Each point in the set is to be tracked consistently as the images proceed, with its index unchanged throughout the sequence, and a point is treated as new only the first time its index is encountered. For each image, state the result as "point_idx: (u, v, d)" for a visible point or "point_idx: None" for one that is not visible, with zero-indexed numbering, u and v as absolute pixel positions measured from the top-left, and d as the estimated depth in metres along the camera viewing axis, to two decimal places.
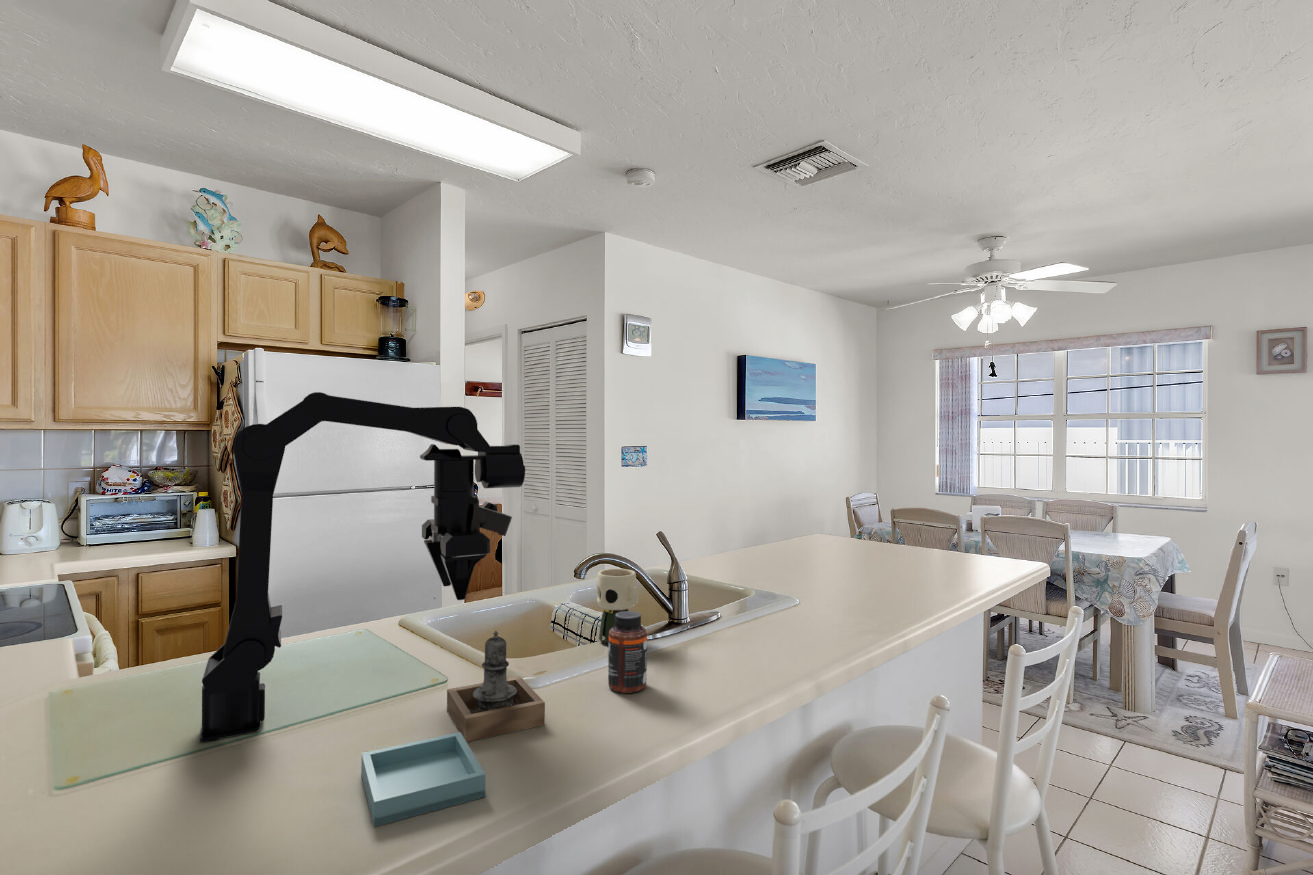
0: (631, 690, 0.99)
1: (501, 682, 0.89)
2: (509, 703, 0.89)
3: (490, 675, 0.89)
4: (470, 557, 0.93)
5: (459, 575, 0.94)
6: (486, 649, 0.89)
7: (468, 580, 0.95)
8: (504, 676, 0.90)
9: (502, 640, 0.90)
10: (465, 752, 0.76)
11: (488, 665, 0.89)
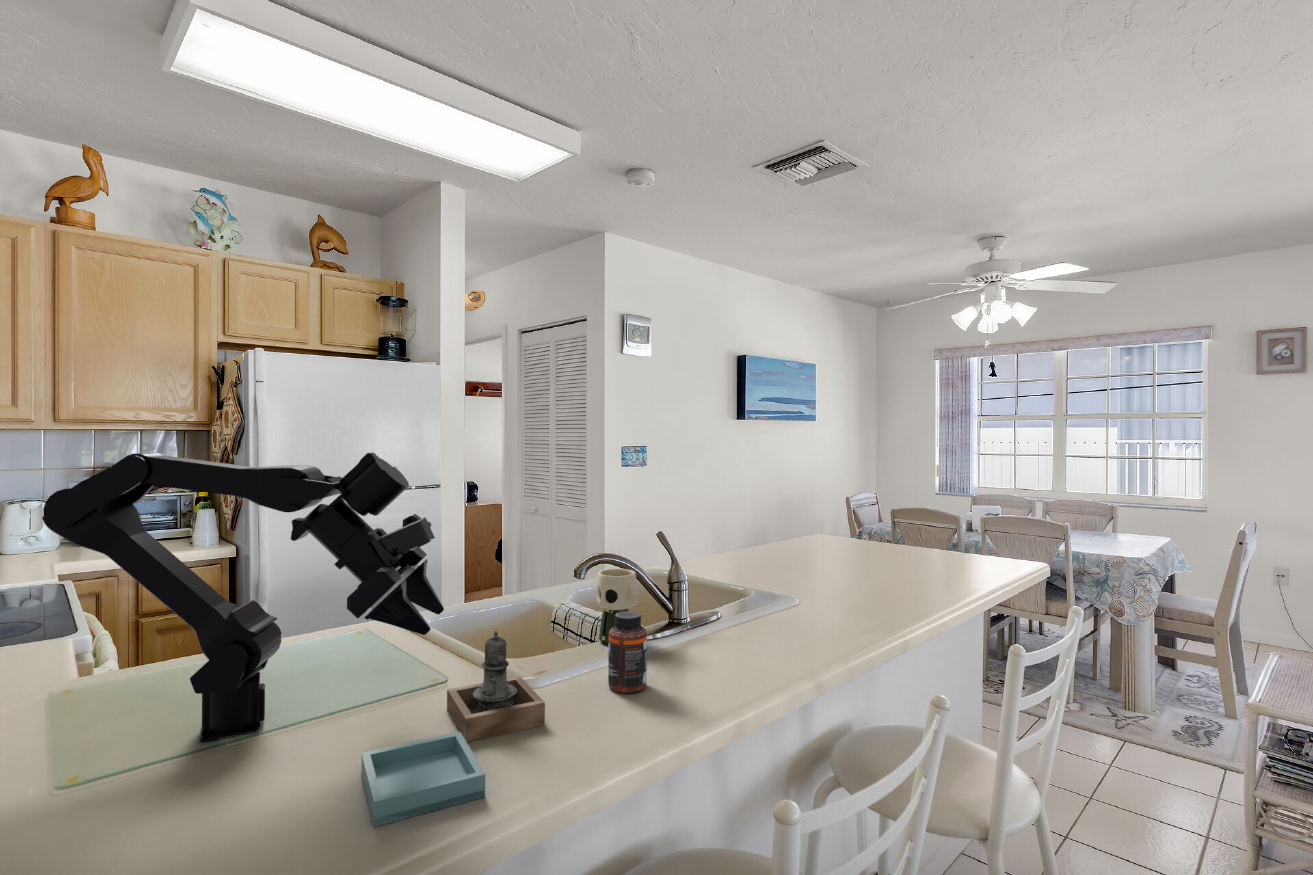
0: (631, 690, 0.99)
1: (501, 682, 0.89)
2: (509, 703, 0.89)
3: (490, 675, 0.89)
4: (385, 599, 0.81)
5: (400, 616, 0.83)
6: (486, 649, 0.89)
7: (414, 614, 0.83)
8: (504, 676, 0.90)
9: (502, 640, 0.90)
10: (465, 752, 0.76)
11: (488, 665, 0.89)
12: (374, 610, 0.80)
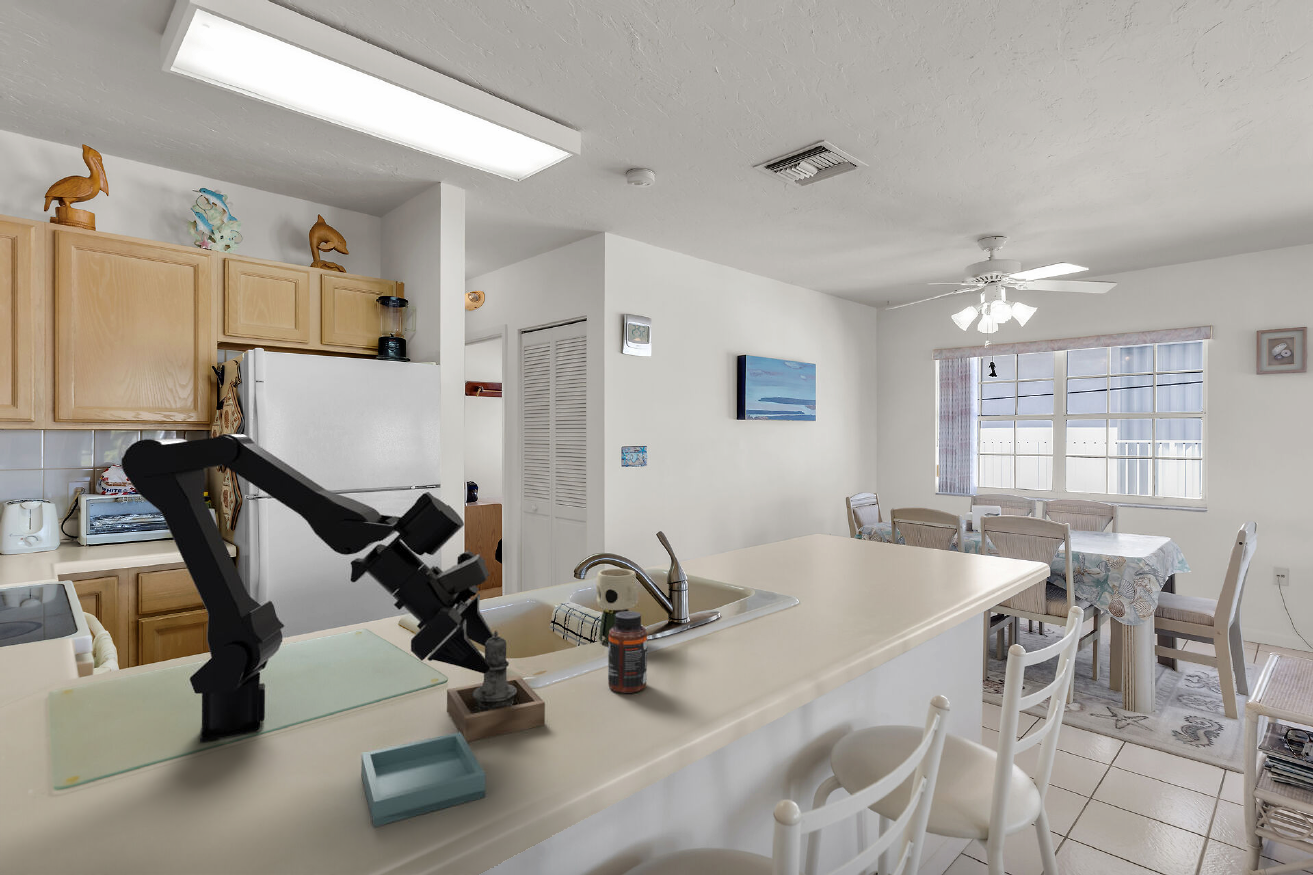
0: (631, 690, 0.99)
1: (501, 682, 0.89)
2: (509, 703, 0.89)
3: (490, 675, 0.89)
4: (448, 640, 0.82)
5: (461, 656, 0.84)
6: (486, 649, 0.89)
7: (474, 653, 0.84)
8: (504, 676, 0.90)
9: (502, 640, 0.90)
10: (465, 752, 0.76)
11: None
12: (437, 651, 0.81)
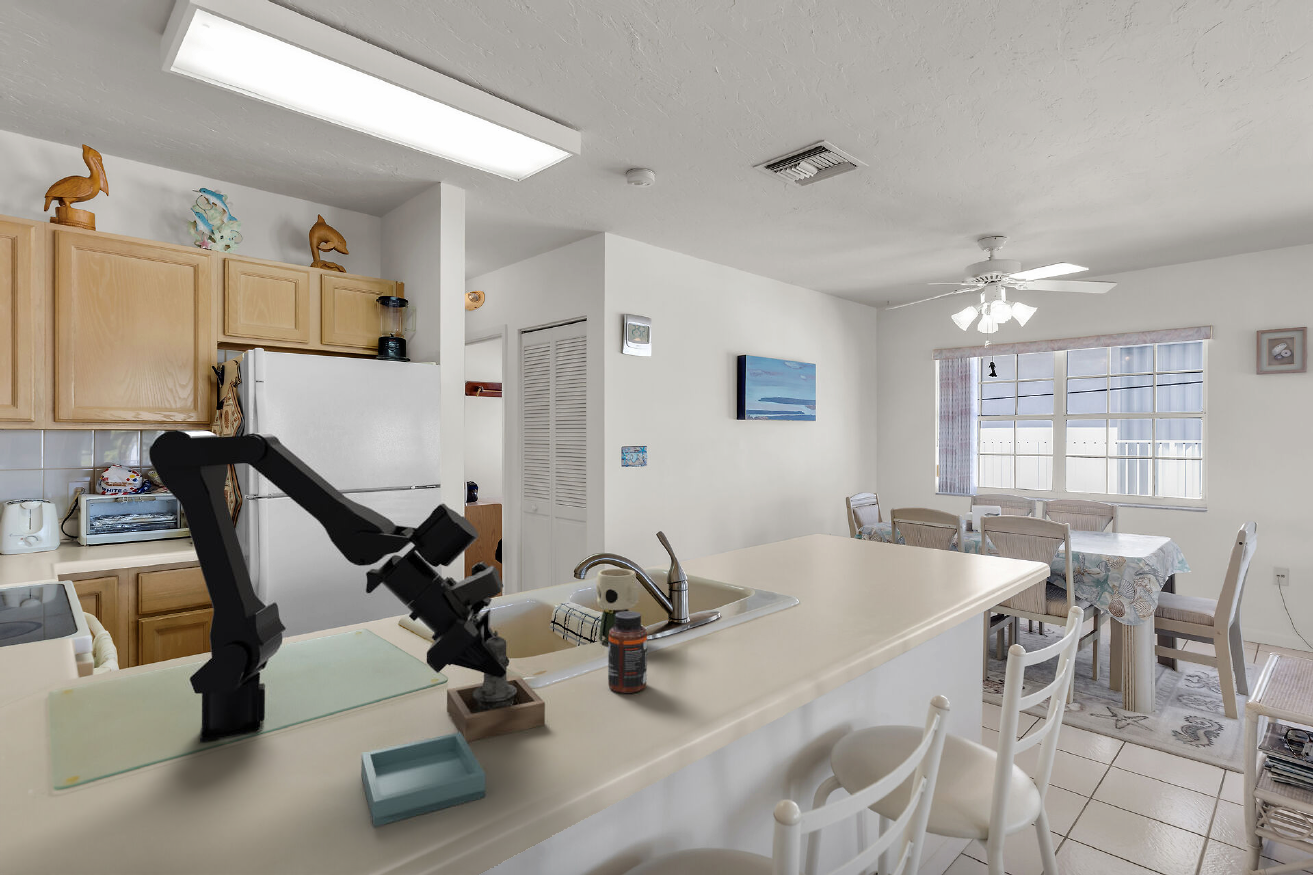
0: (631, 690, 0.99)
1: (501, 681, 0.89)
2: (509, 703, 0.89)
3: (490, 675, 0.89)
4: (466, 646, 0.84)
5: (479, 661, 0.87)
6: None
7: (492, 658, 0.87)
8: (504, 676, 0.90)
9: (502, 640, 0.90)
10: (465, 752, 0.76)
11: None
12: (456, 656, 0.84)
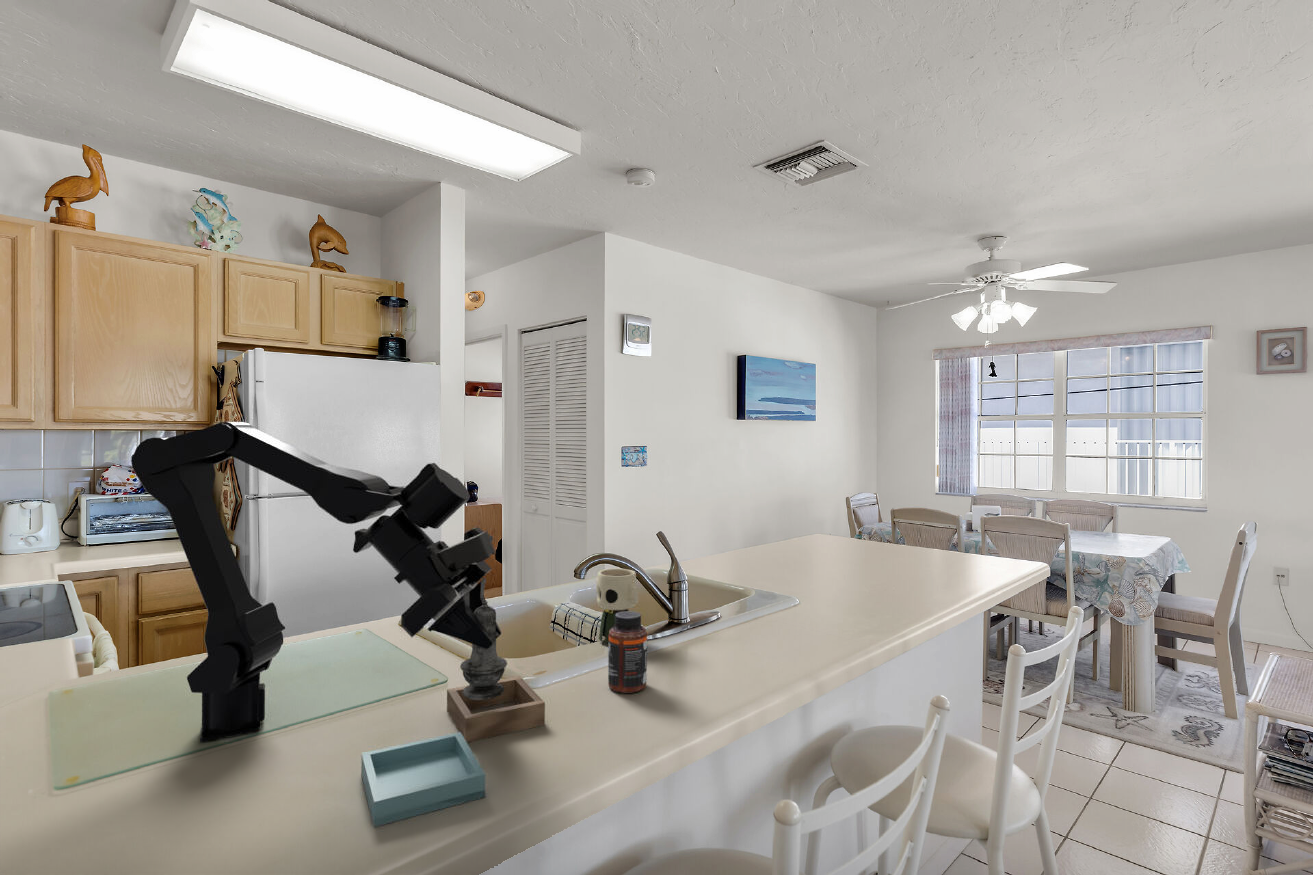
0: (631, 690, 0.99)
1: (488, 653, 0.84)
2: (496, 677, 0.84)
3: (477, 646, 0.84)
4: (447, 612, 0.80)
5: (463, 629, 0.82)
6: None
7: (476, 627, 0.82)
8: (492, 648, 0.84)
9: (491, 610, 0.85)
10: (465, 752, 0.76)
11: None
12: (436, 622, 0.80)
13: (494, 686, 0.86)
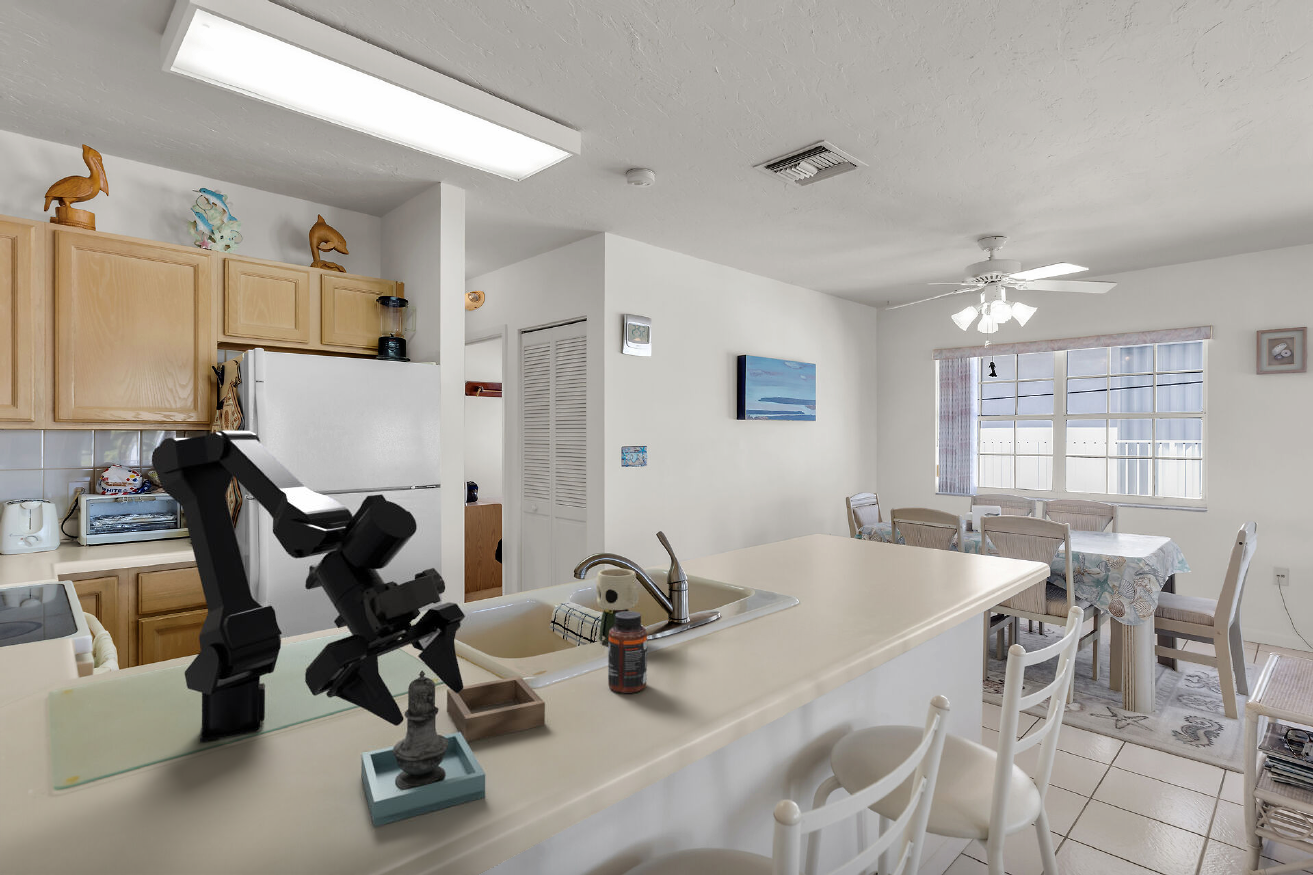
0: (631, 690, 0.99)
1: (419, 736, 0.72)
2: (424, 765, 0.71)
3: (408, 725, 0.72)
4: (342, 677, 0.67)
5: (369, 699, 0.68)
6: (408, 691, 0.73)
7: (381, 698, 0.68)
8: (425, 729, 0.72)
9: (425, 684, 0.72)
10: (465, 752, 0.76)
11: (408, 712, 0.72)
12: (333, 688, 0.67)
13: (432, 774, 0.73)
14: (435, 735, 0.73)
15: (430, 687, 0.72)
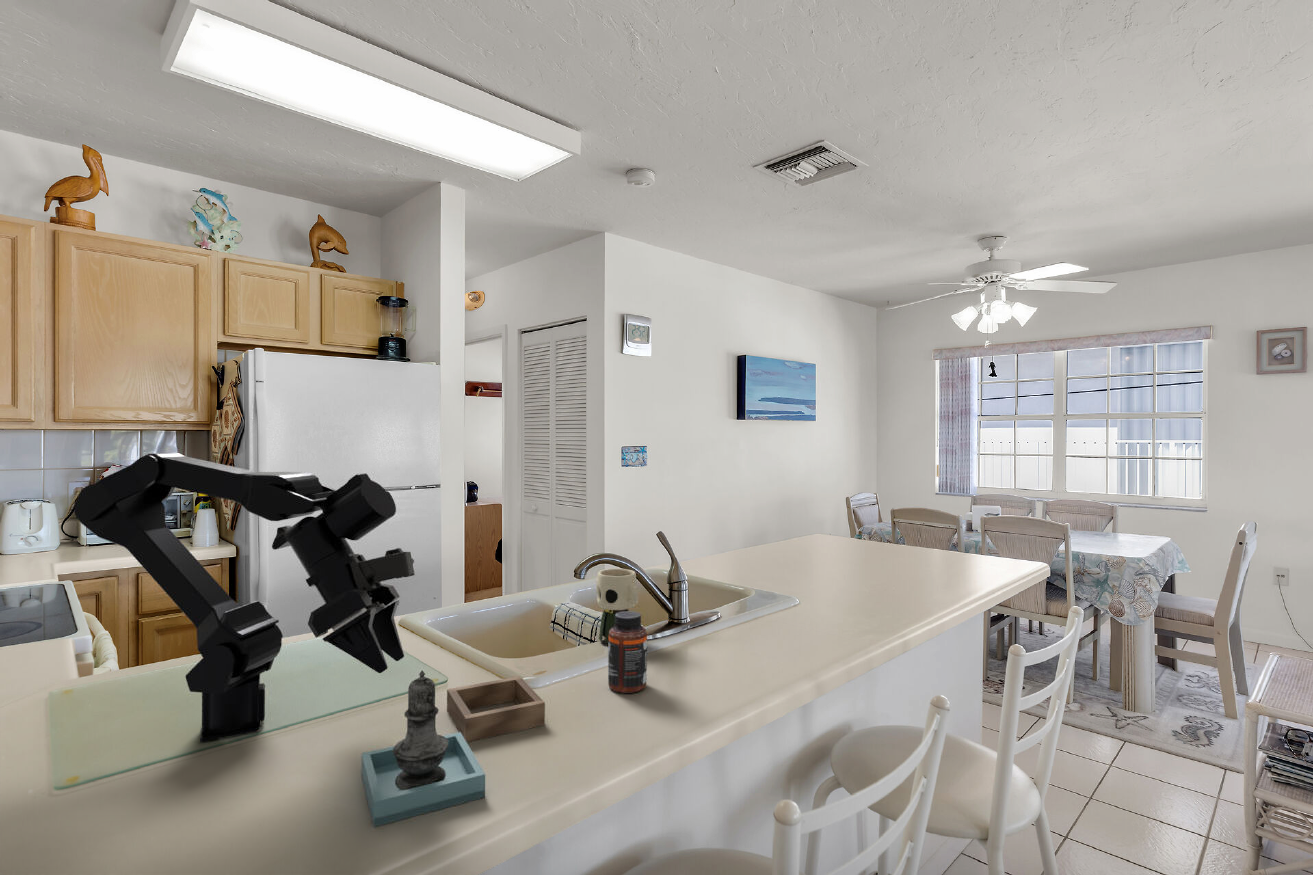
0: (631, 690, 0.99)
1: (419, 736, 0.72)
2: (424, 765, 0.71)
3: (408, 725, 0.72)
4: (350, 622, 0.76)
5: (360, 647, 0.77)
6: (408, 691, 0.73)
7: (375, 646, 0.78)
8: (425, 730, 0.72)
9: (425, 684, 0.72)
10: (465, 752, 0.76)
11: (408, 712, 0.72)
12: (335, 632, 0.75)
13: (432, 774, 0.73)
14: (435, 735, 0.73)
15: (430, 687, 0.72)
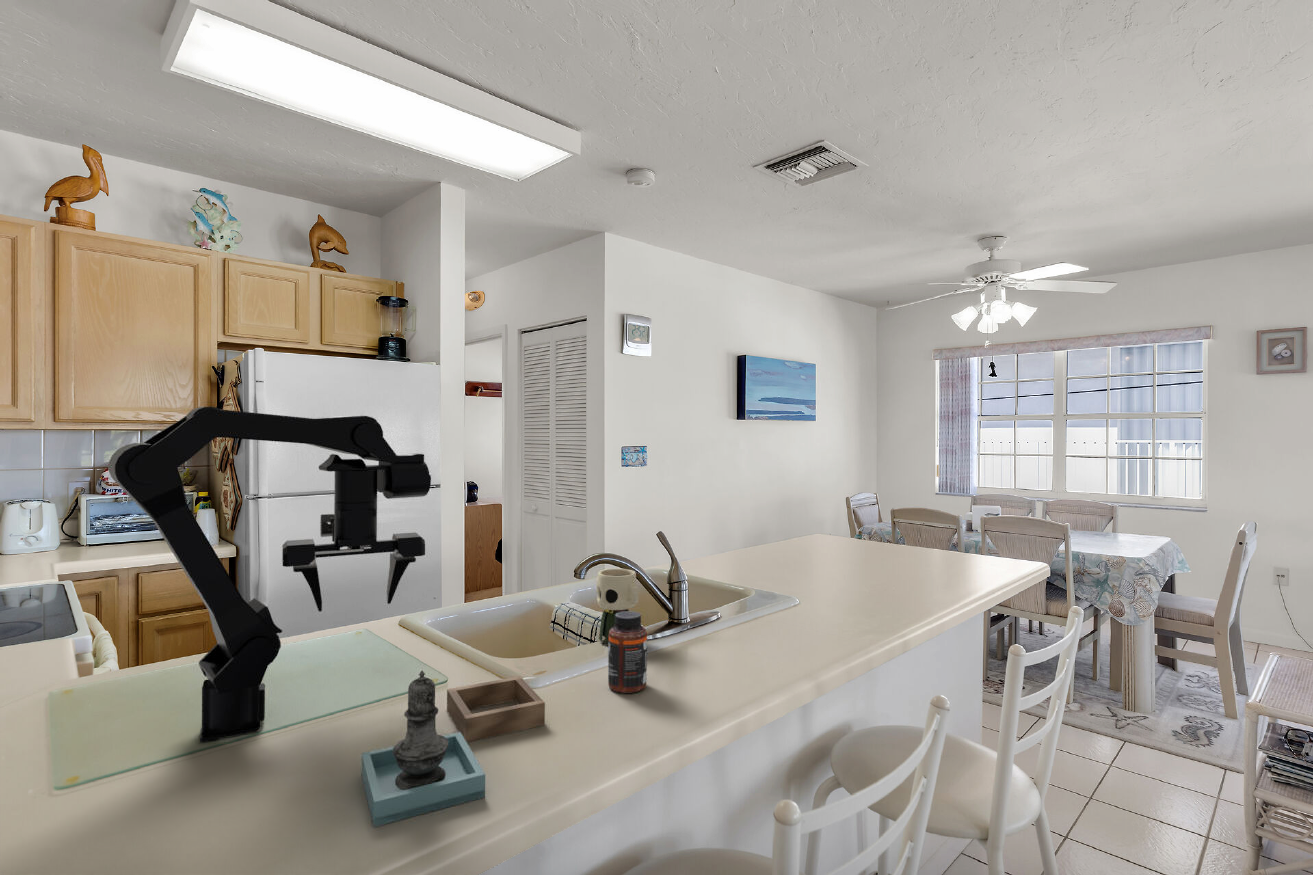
0: (631, 690, 0.99)
1: (419, 736, 0.72)
2: (424, 765, 0.71)
3: (408, 725, 0.72)
4: None
5: None
6: (408, 691, 0.73)
7: None
8: (425, 730, 0.72)
9: (425, 684, 0.72)
10: (465, 752, 0.76)
11: (408, 712, 0.72)
12: (414, 558, 1.00)
13: (432, 774, 0.73)
14: (435, 735, 0.73)
15: (430, 687, 0.72)
